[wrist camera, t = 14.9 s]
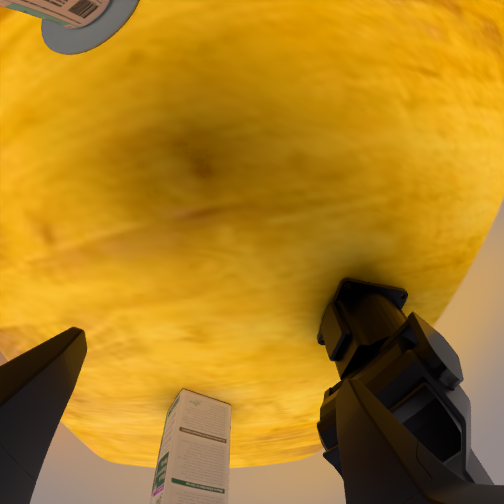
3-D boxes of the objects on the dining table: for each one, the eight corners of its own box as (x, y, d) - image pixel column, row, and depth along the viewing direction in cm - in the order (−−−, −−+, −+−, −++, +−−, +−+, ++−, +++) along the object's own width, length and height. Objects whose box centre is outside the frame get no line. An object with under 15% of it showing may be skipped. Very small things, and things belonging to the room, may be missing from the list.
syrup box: (181, 386, 28) (156, 515, 14) (234, 404, 29) (228, 529, 15) (167, 411, 30) (143, 522, 16) (214, 427, 31) (204, 535, 17)
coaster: (158, -46, 12) (156, -48, 11) (123, 52, 15) (120, 51, 15) (64, -30, 11) (62, -32, 11) (32, 59, 15) (30, 59, 14)
